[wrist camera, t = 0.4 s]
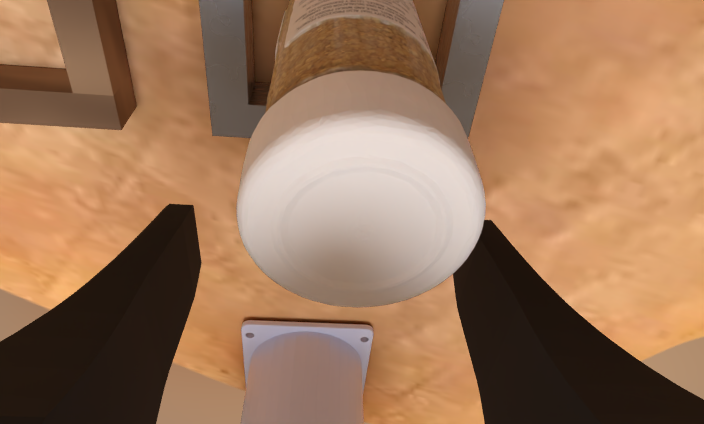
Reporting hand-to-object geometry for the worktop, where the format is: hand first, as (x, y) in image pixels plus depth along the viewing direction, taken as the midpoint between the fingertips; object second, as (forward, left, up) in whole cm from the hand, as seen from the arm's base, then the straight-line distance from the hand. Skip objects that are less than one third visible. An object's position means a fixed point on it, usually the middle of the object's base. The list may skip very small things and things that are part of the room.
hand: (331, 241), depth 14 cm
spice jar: (+3, 0, -10) cm, 11 cm away
